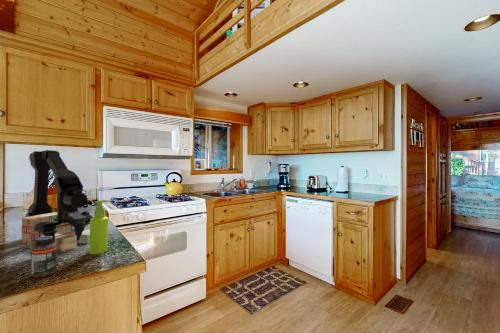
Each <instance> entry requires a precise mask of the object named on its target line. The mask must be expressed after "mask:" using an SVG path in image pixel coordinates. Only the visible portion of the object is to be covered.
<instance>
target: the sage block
mask: <svg viewBox="0 0 500 333" xmlns="http://www.w3.org/2000/svg"><path fill="white" fill-rule="evenodd" d="M74 235H75V233H74ZM78 243H80V244H86V245H87V244H90V228H88V229H84V231H83V232H82V234H81V237H80V239H79V240H78V241H77V244H78Z"/></svg>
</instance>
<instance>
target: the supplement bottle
mask: <svg viewBox="0 0 500 333" xmlns="http://www.w3.org/2000/svg"><path fill="white" fill-rule="evenodd" d="M30 250H31V252H30V257H31V258H30V259H31V260H30V265H31V266H30V275H31V277H32V278H34V279H35V278H36V279H37V278H39V279H40V278H45V277H49V276H51V275H52V274H54V273H56V272H57V268H58V266H57V265H58V263H57V262H58V250H57V244H56V243H54V242H53V237H52V236H44V237H39V238H37V239H36V244H35V246H33V247H32V249H30Z"/></svg>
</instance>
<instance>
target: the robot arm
mask: <svg viewBox="0 0 500 333" xmlns="http://www.w3.org/2000/svg"><path fill="white" fill-rule="evenodd" d="M28 160H29V162H30V166H31V167H32V169H33V170H34V185H33V186H34V188H33V202H32V204H30V206H29V207H28V208H27V209H28V210H27V213H26V214H25V216H24V217H30V216H36V215H42V214H47V213H54V212H57V218H55V221H57V222H55V223H54V222H42V223H37V224H36V225H35V227H34V231H37V232H39V233H42V234H43V235H44V236H52V237H53V242H54V243H55V233H56V232H57V231H55V229H56V227H59V226H63V225H68V224H70V225H71V226H75V235H77V241H78V240H79V239H80V237H81V234H82V232H83V230H85V228H86V227H87V226H88V225H90V219H91V218H94V216H92V214H90V211H88V210H85V211H80V212H79V209H80V208H83V207H85V206H86V204H87V203H88V201H89V200H88V197H87V195H86V194H85V193H83V191H84V189H83V188H84V186H83V183H82V181H81V180H80V177H79V176H78V175H77V174H76V172H74V171H72V170H70V169H69V168H68V167H67V165H66V163H65V162H64V161H63V158H62V157H61V153H60V152H59V151H57V150H51V149H50V150H49V149H46V150H41V151H37V150H36V151H35V150H34V151H33V152H31V153H29V155H28ZM50 171H51V172H52V173H53V175H54V178H53V180H52V182H53V186H54V188H55V189H56V192H55V193H56V194H57V206H56V208H54V211H53V207H52V206H51V205H50V204H49V203H48V194H49V179H50V178H49V177H50V175H49V174H50ZM61 223H62V224H61Z"/></svg>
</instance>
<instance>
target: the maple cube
mask: <svg viewBox="0 0 500 333" xmlns="http://www.w3.org/2000/svg"><path fill="white" fill-rule="evenodd" d="M55 243H56V244H57V251H58V250H60V251H59V252H63V251H64V252H66V250H67V251H69V249H70V250H73V249H76V248H77V244H78V242H77V235H70V234H67V235H63V236H59V237H55Z"/></svg>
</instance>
